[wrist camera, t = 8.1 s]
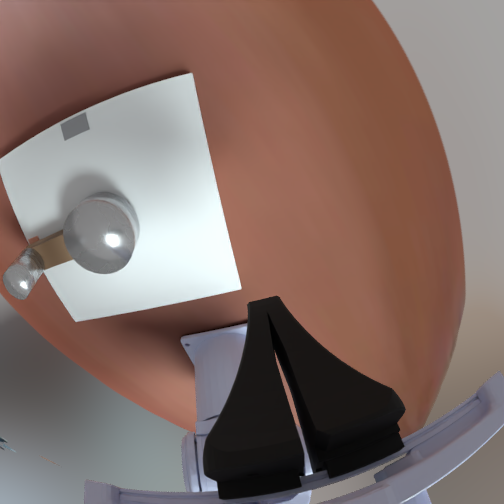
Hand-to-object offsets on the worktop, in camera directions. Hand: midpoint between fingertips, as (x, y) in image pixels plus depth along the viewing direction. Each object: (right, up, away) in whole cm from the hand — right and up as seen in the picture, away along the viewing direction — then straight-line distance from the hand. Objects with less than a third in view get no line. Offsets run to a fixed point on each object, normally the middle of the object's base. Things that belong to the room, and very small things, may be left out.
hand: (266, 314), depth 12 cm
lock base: (-11, +5, +6) cm, 13 cm away
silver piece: (-13, +4, +4) cm, 14 cm away
